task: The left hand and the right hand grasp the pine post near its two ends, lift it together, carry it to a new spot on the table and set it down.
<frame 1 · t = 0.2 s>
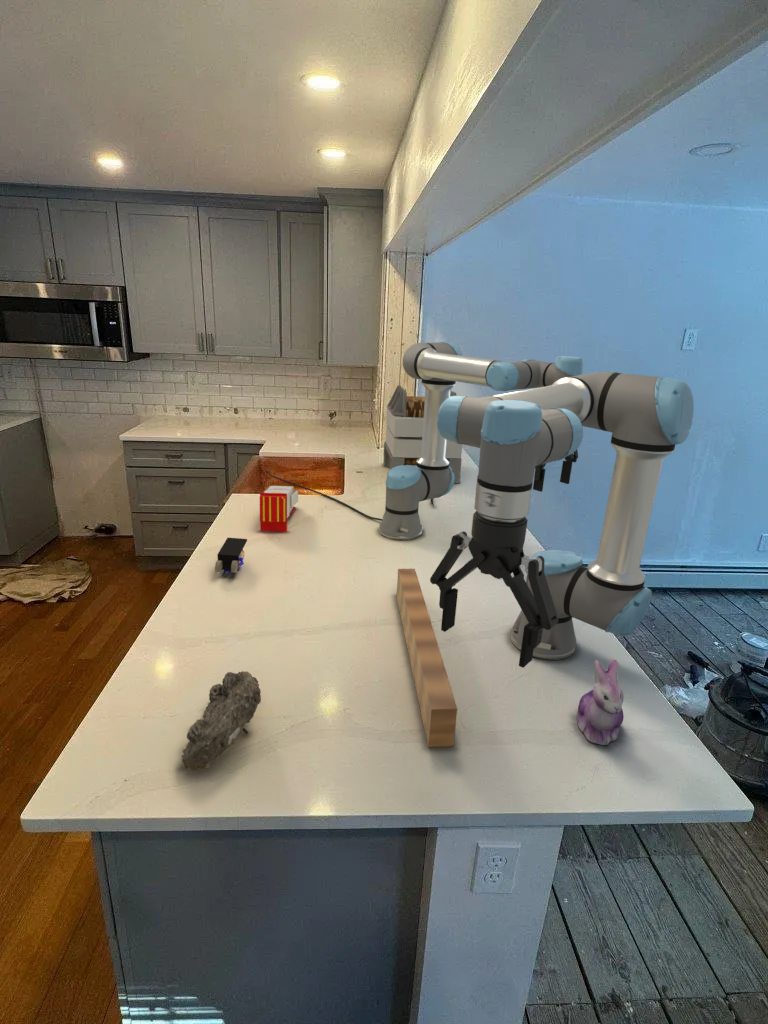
left hand: (551, 486, 165), 28 cm above the counter, tool pointing down, fingers open, 13 cm apart
right hand: (484, 644, 86), 27 cm above the counter, tool pointing down, fingers open, 13 cm apart
figurine character: (232, 569, 168), on the counter
post: (419, 656, 130), on the counter
figurine: (599, 730, 109), on the counter
toy: (279, 518, 209), on the counter
grey tall slatted box: (419, 473, 275), on the counter
feather: (431, 497, 241), on the counter
fossil: (227, 731, 105), on the counter
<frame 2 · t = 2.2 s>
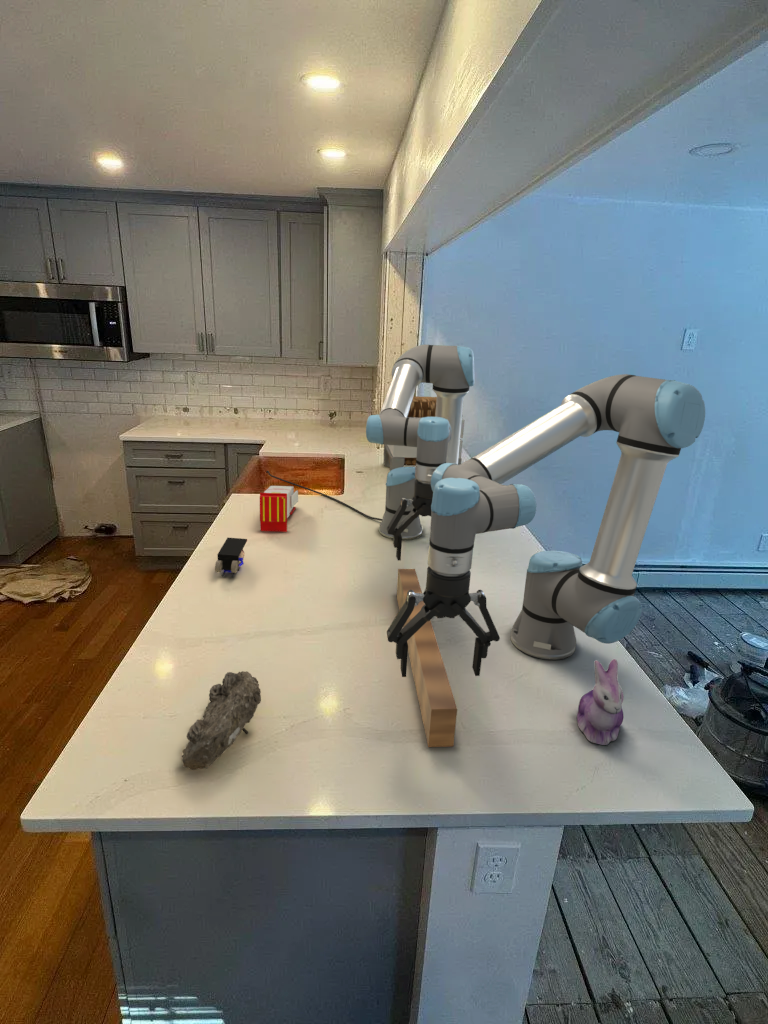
left hand: (423, 558, 148), 14 cm above the counter, tool pointing down, fingers open, 13 cm apart
right hand: (439, 672, 105), 12 cm above the counter, tool pointing down, fingers open, 13 cm apart
nothing on the counter moved.
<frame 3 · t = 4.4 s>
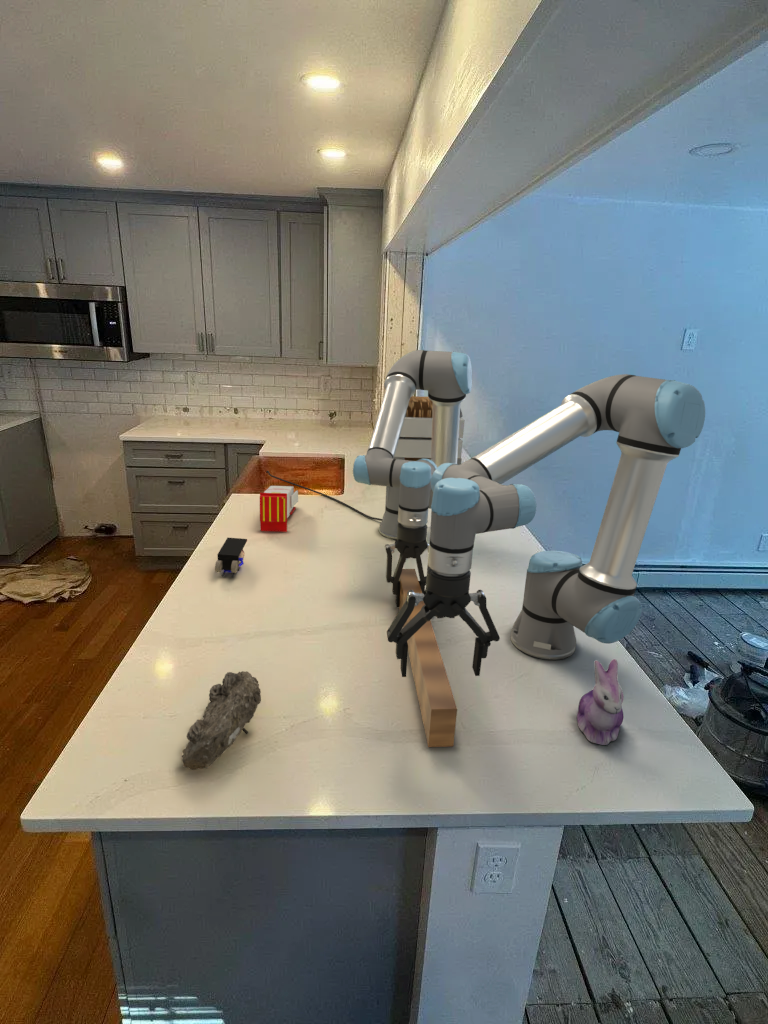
left hand: (407, 604, 151), 1 cm above the counter, tool pointing down, fingers closed on post, 5 cm apart
right hand: (439, 672, 105), 12 cm above the counter, tool pointing down, fingers open, 13 cm apart
post: (419, 656, 130), on the counter, touching left hand
everything else where it was.
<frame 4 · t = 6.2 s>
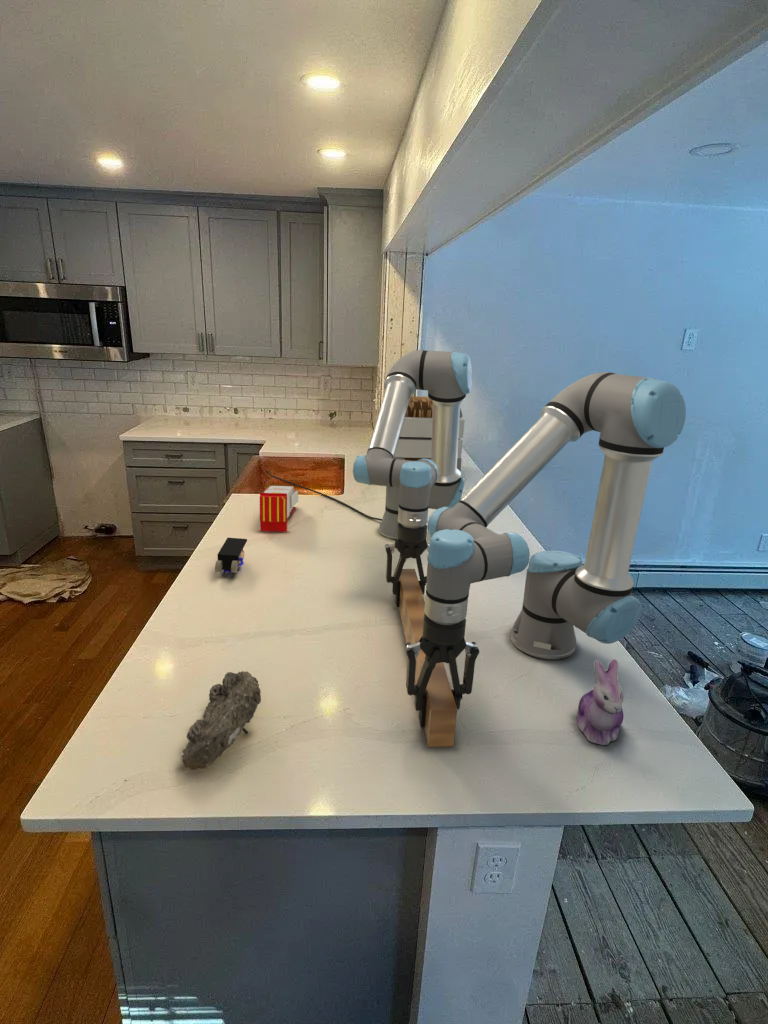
left hand: (407, 604, 151), 1 cm above the counter, tool pointing down, fingers closed on post, 5 cm apart
right hand: (435, 721, 109), 1 cm above the counter, tool pointing down, fingers closed on post, 5 cm apart
post: (419, 656, 130), on the counter, touching left hand, right hand
everything else where it was.
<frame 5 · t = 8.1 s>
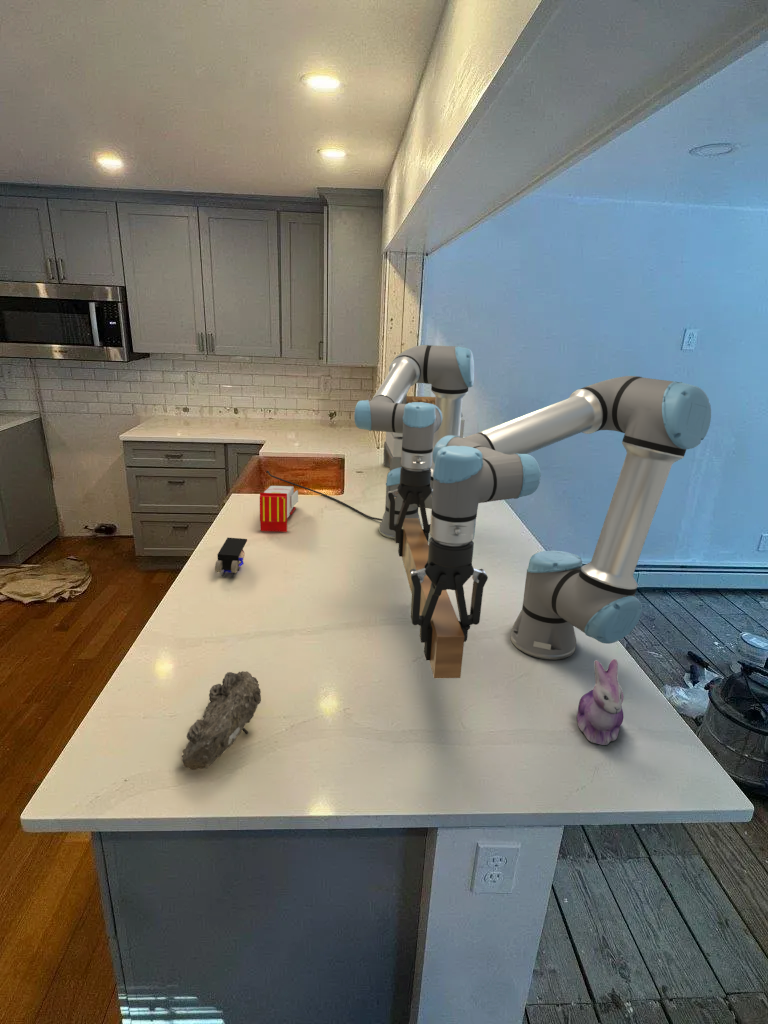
left hand: (410, 554, 146), 15 cm above the counter, tool pointing down, fingers closed on post, 5 cm apart
right hand: (441, 655, 104), 15 cm above the counter, tool pointing down, fingers closed on post, 5 cm apart
post: (423, 598, 125), point 15 cm above the counter, touching left hand, right hand
everything else where it was.
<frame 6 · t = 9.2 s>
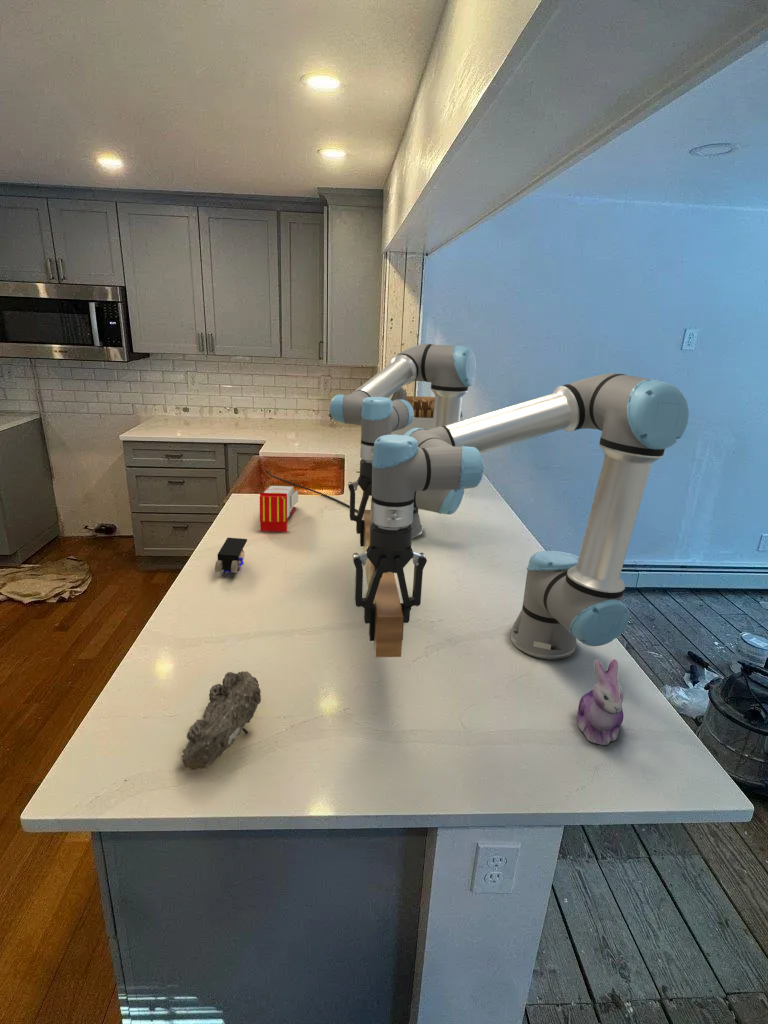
left hand: (371, 544, 151), 15 cm above the counter, tool pointing down, fingers closed on post, 5 cm apart
right hand: (385, 636, 108), 16 cm above the counter, tool pointing down, fingers closed on post, 5 cm apart
post: (377, 585, 130), point 15 cm above the counter, touching left hand, right hand
everything else where it was.
when the left hand's fingers open (2 cm above the counter, at t = 12.2 s): post drops 2 cm, on the counter.
when the right hand's fingers open (2 cm above the counter, at t = 12.2 s): post drops 2 cm, on the counter.
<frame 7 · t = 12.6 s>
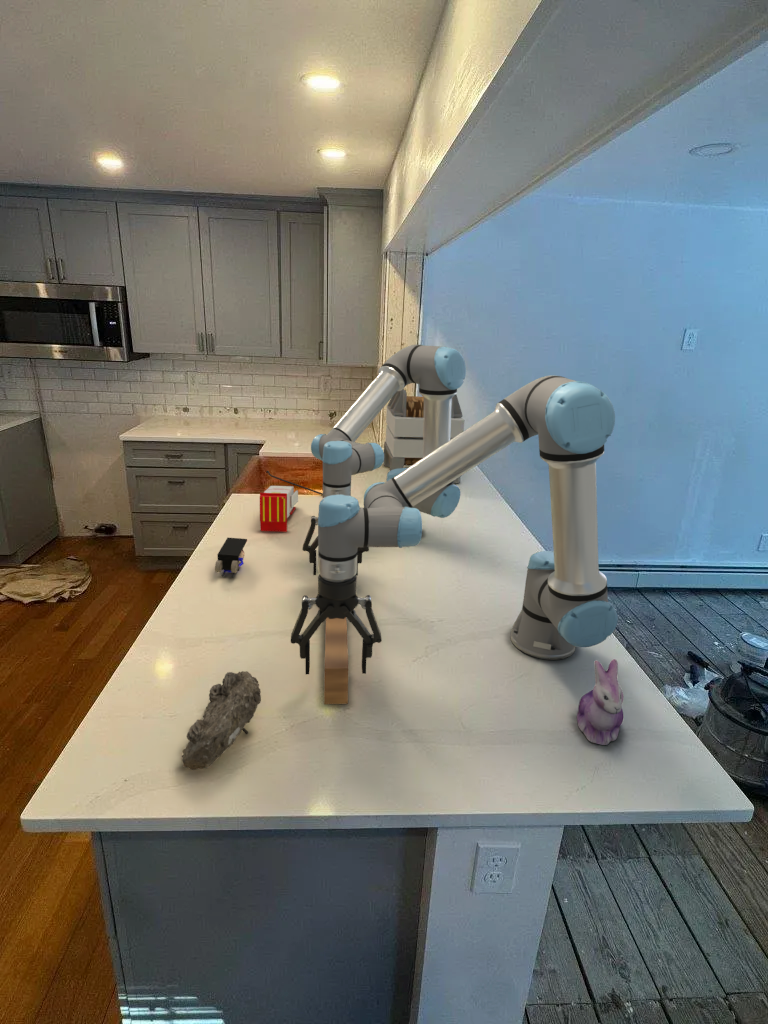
left hand: (335, 573, 160), 4 cm above the counter, tool pointing down, fingers open, 11 cm apart
right hand: (335, 670, 117), 4 cm above the counter, tool pointing down, fingers open, 11 cm apart
post: (335, 627, 140), on the counter
everything else where it was.
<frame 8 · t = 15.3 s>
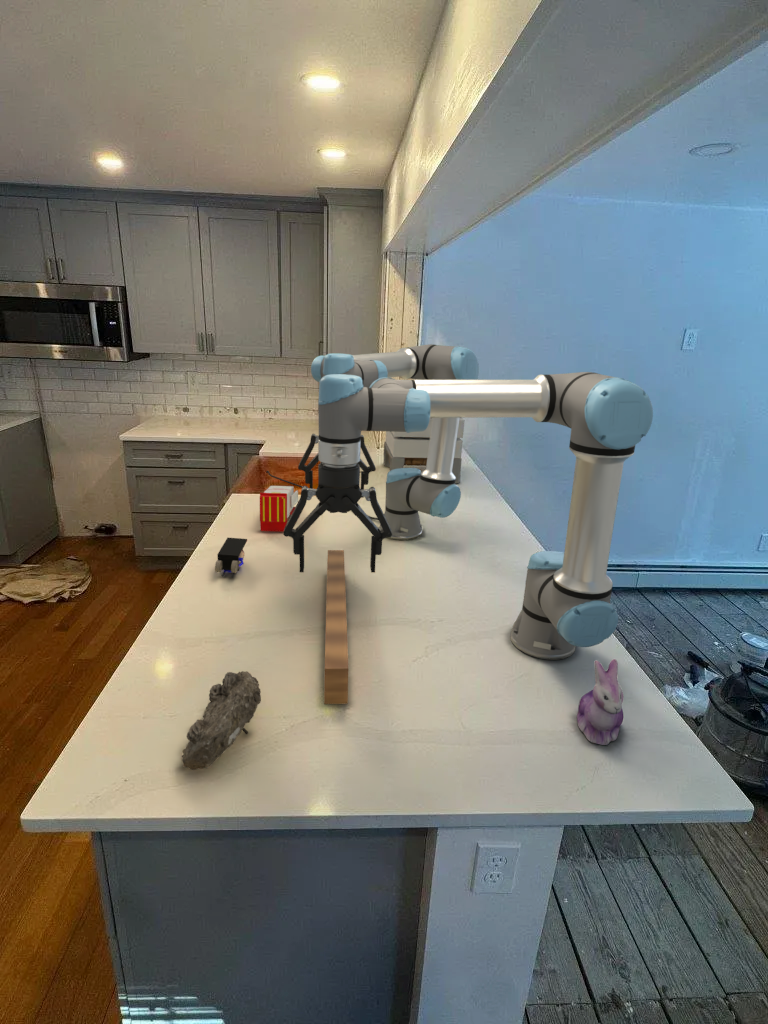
left hand: (336, 495, 152), 27 cm above the counter, tool pointing down, fingers open, 13 cm apart
right hand: (337, 569, 109), 27 cm above the counter, tool pointing down, fingers open, 13 cm apart
nothing on the counter moved.
at the end: post inside the target area (0.1 cm from its centre), on the counter; post tilted 0°; post never tilted more than 1° during the clip; both hands held the post at the same time; the left hand is holding nothing; the right hand is holding nothing; post at rest at the end (0.0 cm/s) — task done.
